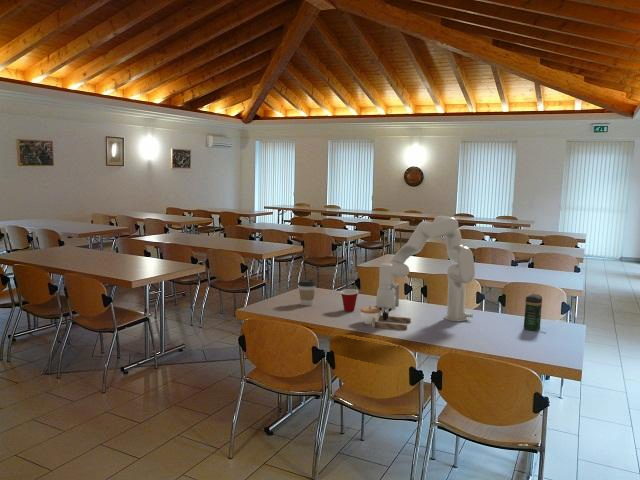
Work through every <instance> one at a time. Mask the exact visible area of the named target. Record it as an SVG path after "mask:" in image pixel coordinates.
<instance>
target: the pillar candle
mask: <svg viewBox="0 0 640 480" xmlns="http://www.w3.org/2000/svg"><path fill="white" fill-rule="evenodd" d="M393 283H394V285H396V287H394V288H393V289H395V295H396V305H395V307H396V308H398V307H399V304H400V303H399V302H400V301H399V299H400V283H398V282H395V281H393Z"/></svg>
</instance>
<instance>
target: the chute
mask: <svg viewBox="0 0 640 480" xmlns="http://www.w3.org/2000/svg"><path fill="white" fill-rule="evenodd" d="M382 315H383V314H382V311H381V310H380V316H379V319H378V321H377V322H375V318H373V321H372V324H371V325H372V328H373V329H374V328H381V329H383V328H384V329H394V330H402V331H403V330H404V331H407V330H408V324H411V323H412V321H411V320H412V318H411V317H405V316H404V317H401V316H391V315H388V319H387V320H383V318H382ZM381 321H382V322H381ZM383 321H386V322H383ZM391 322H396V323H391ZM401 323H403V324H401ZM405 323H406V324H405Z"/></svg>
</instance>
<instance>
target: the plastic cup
mask: <svg viewBox="0 0 640 480" xmlns="http://www.w3.org/2000/svg"><path fill="white" fill-rule="evenodd" d="M339 293H340V295H341V297H342V298H341V299H342V304H343V310H344V312H347V313H348V312H349V313H351V312H352V313H353V312H354V311H355V309H356V304H357V303H356V302H357V298H358V294H359V290H358V289H354V288H353V289H352V288H348V289H347V288H346V289H342V290H340V292H339Z"/></svg>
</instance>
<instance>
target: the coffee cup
mask: <svg viewBox="0 0 640 480" xmlns="http://www.w3.org/2000/svg"><path fill="white" fill-rule="evenodd" d="M297 285H298V288H299V289H298V290H299V298H300V304H302V305H301V306H303V305H312V304H313V305H314V302H315V301H314V299H315V293H316V287H317V282H316V280H314V279H308V278H307V279H306V278H305V279H304V278H303V279H300V280H299V281H298V283H297ZM313 305H312V306H313Z"/></svg>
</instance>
